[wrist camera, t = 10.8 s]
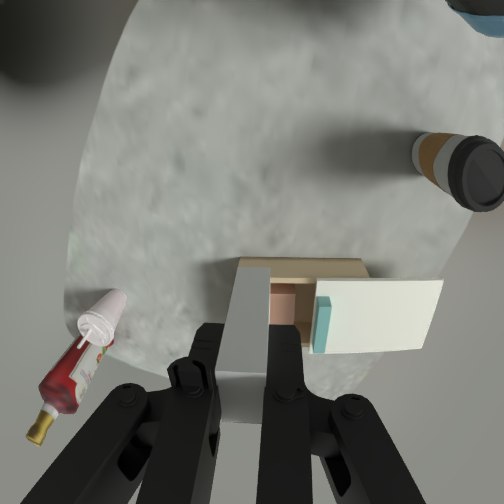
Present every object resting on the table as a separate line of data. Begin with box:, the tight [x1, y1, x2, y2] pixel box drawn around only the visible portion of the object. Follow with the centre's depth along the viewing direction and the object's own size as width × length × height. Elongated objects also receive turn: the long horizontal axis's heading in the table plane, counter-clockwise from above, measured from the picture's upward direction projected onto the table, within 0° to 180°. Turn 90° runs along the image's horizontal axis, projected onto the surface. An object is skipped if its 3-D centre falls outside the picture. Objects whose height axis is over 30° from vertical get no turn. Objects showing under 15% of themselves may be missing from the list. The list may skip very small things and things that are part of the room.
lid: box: [309, 278, 444, 354], centre depth 41 cm, size 13×19×3 cm
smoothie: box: [77, 289, 127, 349], centre depth 46 cm, size 6×6×14 cm
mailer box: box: [238, 257, 370, 347], centre depth 47 cm, size 12×18×6 cm, turn 91°
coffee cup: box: [412, 133, 504, 212], centre depth 32 cm, size 8×8×15 cm
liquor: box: [26, 333, 114, 447], centre depth 44 cm, size 7×7×28 cm
